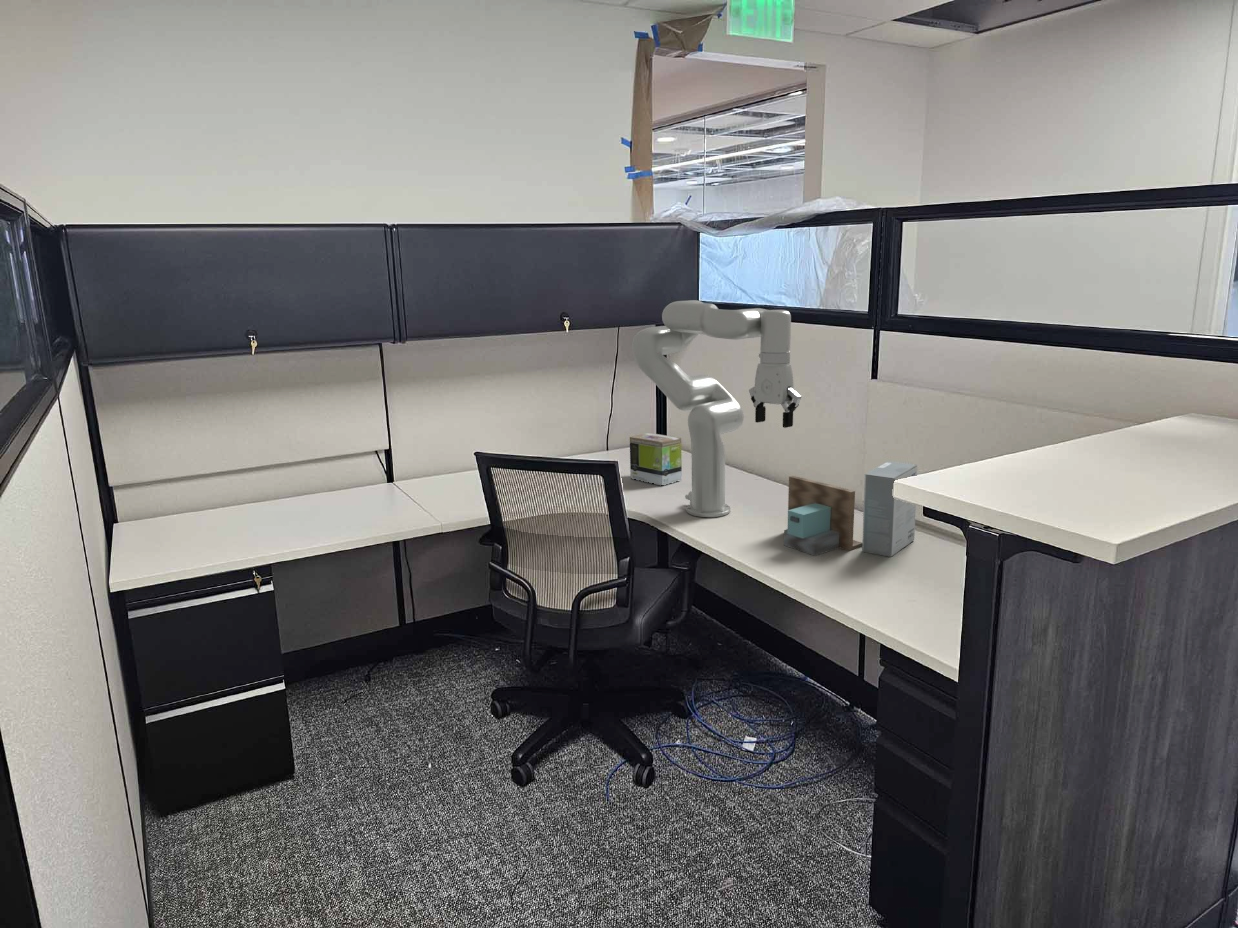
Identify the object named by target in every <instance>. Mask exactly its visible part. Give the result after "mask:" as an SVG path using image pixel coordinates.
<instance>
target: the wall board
mask: <svg viewBox="0 0 1238 928" xmlns="http://www.w3.org/2000/svg"><path fill="white" fill-rule="evenodd" d="M855 500H856V490H852V489H848V488H844V487H841V486H837V485H836V486H835V485H832V484H828V483H824V482H820V481H816V480H812V479H808V478H803V477H800V476H796V475H789V476H788V501H787V502H788V503H787V506H788V507H787V511H788V510H791V509H795V508H798V507H802V506H806V505H809V504H813V503H818V504H821V505H825V506H828V507H831V518H830V530H829V531H826V532H822V533H819V534H816V535H813V536H809V537H806V538H800V537H797V536H794V535H790V534H787V529H788V528H786V529H784V530H783V537H784V538H783V546H785V547H788V548H791V549H793V550H797V551H800V552H802V553H806V554H808V555H812V556H813V557H814V556H818V555H821V554H824V553H827V552H831V551H832V550H833V551H834V550H837V549H842V550H844V551H848V552H849V551H853V550H855V549H857V548H862V541H858V540H854V528H855V527H854V526H855V525H854V523H855V502H856V501H855Z"/></svg>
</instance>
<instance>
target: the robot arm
mask: <svg viewBox="0 0 1238 928" xmlns="http://www.w3.org/2000/svg"><path fill="white" fill-rule="evenodd" d="M661 318H662V320H661V321H662V323H663V324H664V325H659V326H651V327H646V328H643V329H641V330H639V331H637V333H636V334H635V335H634V337H633V339H632V343H631V344H632V345H631V350H632V351H631V352H632V355H633V358H634V359H633V360H634V361H635V363H636V365H637V366H638V368H639V369H640V371H641V372H642V373H643V374H644V375H645V376H646V377H647V378H648V379H649V380H651V382H652V383H654V384H655V385H656V386H657V388H658V389H659V390H660V391H661V392H662V393H663V394H664V396H665V397H666V398H667V399H668V400H669V401H670V402H671V403H672V404H673V405H674V406H675V407H676V408H677V409H678V410H679V411H684V412H687V411H690V412H689V414H688V417H687V426H688V432H689V436H690V442H691V443H690V447H691V491H689V492H688V494H685V496H684V497H685V498H684V499H685V500H687V501H689V504H688V505H687V506H686V512H687V513H688V514H689V515H691V516H695V517H700V518H716V517H717V518H719V517H723V516H727V515H728V514H730V512H731V506H730V505H729V504H726V449H725V445H724V442H723V440H722V437H721V435H723V434H727V433H731V432H735V431H736V430H738V429H740V428H741V426H742V425H743V423H744V417H745V416H744V411H743V408H742V406H741V405H740V403H739V402H738V401H737V400H736V399H735V397H734V396H732V394H731V393H729V391H727V389H726V388H725V387H724V386H723V385H722V384H721V383H720V382H719V381H718V380H717V379H715V378H714V377H712V376H710V375H706V374H699V375H689V374H687V373H686V372H685V371H684V370H682V368H681V367H680V366H679V365H678V364H677V363H675V362H674V361H673V360H671V359H669V358H668V357H666V356H667V355H674V354H679V353H680V352H682V351H684V350H685V349H686V348H687V347H688V346H689V345H690V344H691V343H692V342H693V341H694V339H695V338H697V337H698V336H699V335H705V336H708V337H710V338H715V339H722V340H723V339H724V340H735V341H738V340H745V339H754V338H760V353H758V357H759V358H758V359H759V360H760V361H759V363H758V364H757V365H756V366H757V367H756V370H755V376H754V377H755V378H754V386H753V387H752V388H749V389H748V392H749V395H750V396H749V397H750V400H751V401H752V403H753V407H754V408H755V410H754V411H755V413H754V414H755V415H754V416H755V421H754V422H755V423H763V422H765V421H766V412H767V411H766V406H765V404H770V405H771V404H772V405H781V407H782V409H783V410H784V412H782V428H784V429H786V428H792V427H793V425H794V412H796V409H797V408H798V407H799V406H800V402H801V400H802V395H800V394H799V393H798V391H796V390H794V376H793V367H792V364H791V361H790V359H791V333H792V332H791V331H792V329H791V327H792V315H791V313H790V311H789V310H786V309H765V308H760V307H755V308H742V309H721V308H720V309H719V308H718V306H717V305H715V304H713V303H709V302H708V303H707V302H702V301H700V300H697V299H695V300H694V299H692V300H691V299H690V300H677V301H673V302H671V303H669V304H668V305H666V306H665V307H664V308H663V310H662V313H661Z"/></svg>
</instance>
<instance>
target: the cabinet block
mask: <svg viewBox="0 0 1238 928" xmlns="http://www.w3.org/2000/svg"><path fill="white" fill-rule="evenodd" d="M830 518H831V507H828V506H825V505H821V504H818V503H813V504H809V505H806V506H802V507H798V508H795V509H791V510H788V509H787V528H786V529H787V534H790V535H794V536H797V537H800V538H806V537H809V536H813V535H816V534H819V533H822V532H826V531H829V530H830Z"/></svg>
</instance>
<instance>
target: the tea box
mask: <svg viewBox="0 0 1238 928" xmlns="http://www.w3.org/2000/svg"><path fill="white" fill-rule="evenodd" d="M629 459H630V460H629V463H630V465H629V466H630V467H629V469H630V479H631V478H632V479H631V480H634V479H636V480H635V481H639V480H641V481H640V482H643V481H644V482H645V483H648V482H649V483H648V484H652V483H654V485H657V486H661V485H664V486H667V485H666V484H668V483H672V482H675V483H677V482H676V481H678V480H681V481H682V475H683V474H682V461H683V460H682V438H681V437H678V436H671V435H665V434H660V433H659V434H658V433H652V432H647V433H642V434H638V435H633V436H629ZM672 484H673V483H672ZM668 485H669V484H668Z"/></svg>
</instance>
